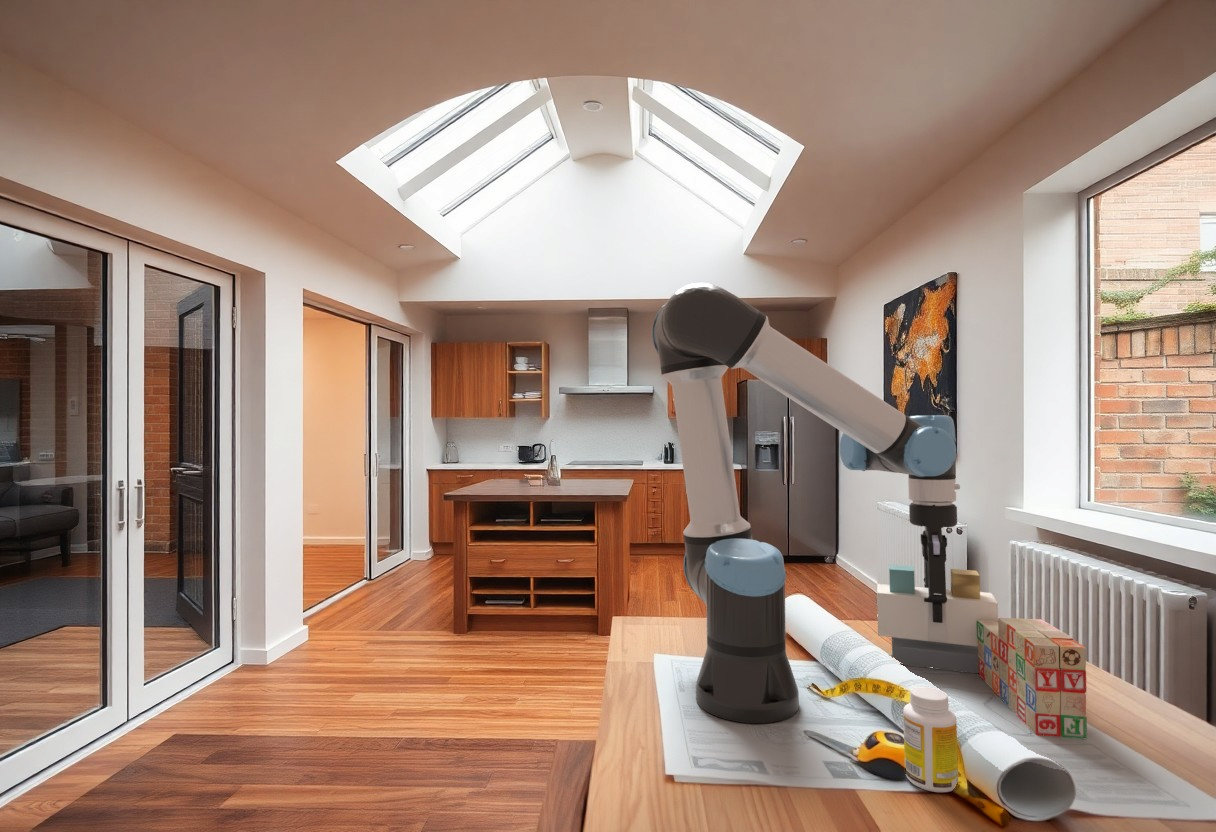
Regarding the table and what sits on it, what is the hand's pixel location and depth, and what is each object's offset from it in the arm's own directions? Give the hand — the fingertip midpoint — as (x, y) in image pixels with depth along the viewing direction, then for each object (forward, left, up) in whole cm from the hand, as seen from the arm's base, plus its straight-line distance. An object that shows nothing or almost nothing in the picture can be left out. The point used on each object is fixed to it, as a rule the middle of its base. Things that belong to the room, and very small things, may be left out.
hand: (935, 633), depth 113 cm
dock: (0, 0, -5) cm, 5 cm away
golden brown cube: (+5, 0, +7) cm, 8 cm away
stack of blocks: (+11, -14, -5) cm, 19 cm away
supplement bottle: (-4, -43, -5) cm, 43 cm away
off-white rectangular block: (0, 0, 0) cm, 0 cm away
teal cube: (-5, 0, +7) cm, 9 cm away
